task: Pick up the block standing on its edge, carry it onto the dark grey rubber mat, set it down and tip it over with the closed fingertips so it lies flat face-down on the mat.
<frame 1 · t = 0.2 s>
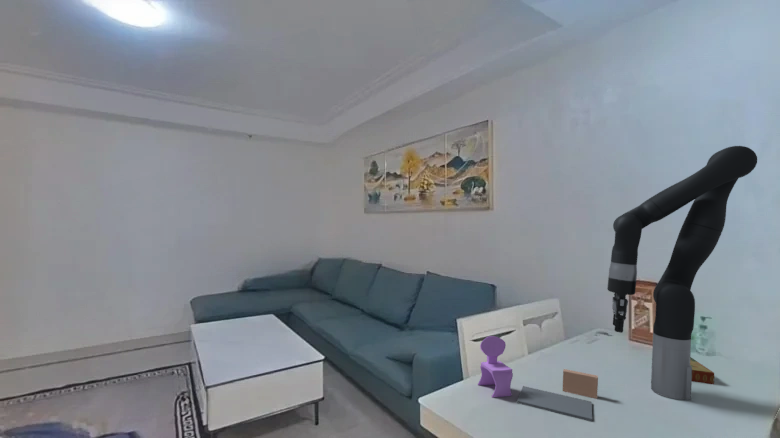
hand: (617, 328, 119), 17 cm above the table, tool pointing down, fingers open, 8 cm apart
block: (579, 393, 111), on the table
mat: (554, 403, 104), on the table
toy chair: (494, 391, 110), on the table
carton: (687, 375, 131), on the table
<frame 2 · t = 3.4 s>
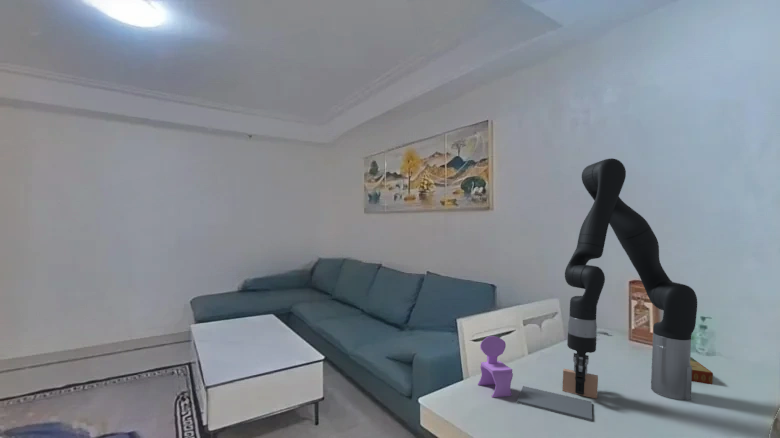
hand: (579, 391, 111), 0 cm above the table, tool pointing down, fingers closed on block, 2 cm apart
block: (579, 393, 111), on the table, touching gripper
everything else where it was.
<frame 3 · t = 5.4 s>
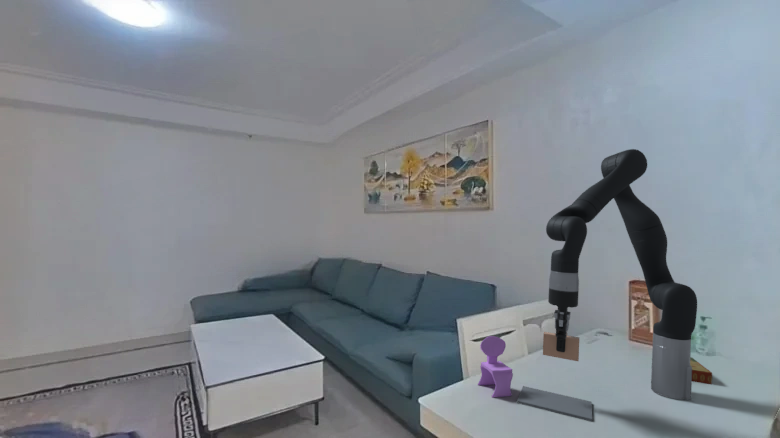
hand: (560, 350, 105), 14 cm above the table, tool pointing down, fingers closed on block
block: (560, 357, 105), point 12 cm above the table, touching gripper
everything else where it was.
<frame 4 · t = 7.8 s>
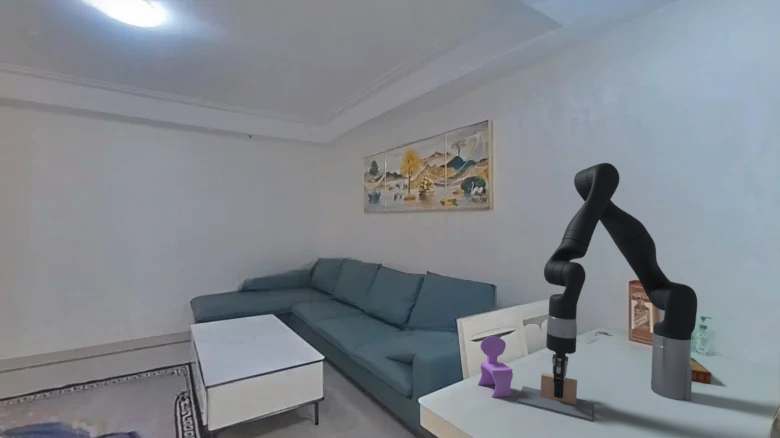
hand: (558, 395, 105), 2 cm above the table, tool pointing down, fingers closed on block, 2 cm apart
block: (558, 399, 105), point 1 cm above the table, touching gripper, mat
everything else where it was.
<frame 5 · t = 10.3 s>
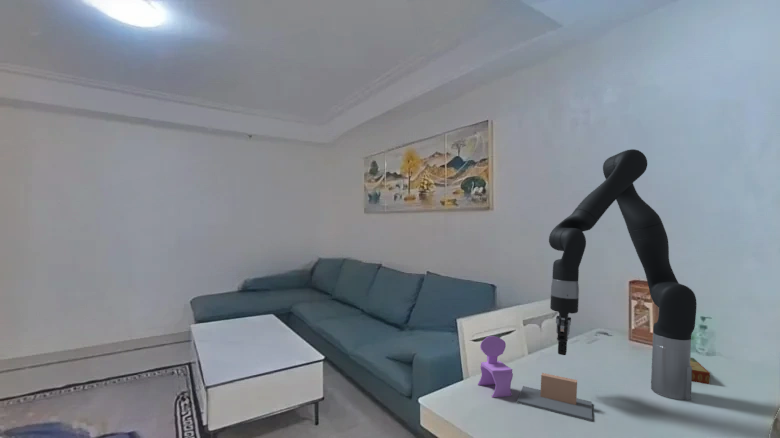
hand: (562, 353, 112), 11 cm above the table, tool pointing down, fingers closed
block: (558, 399, 105), point 1 cm above the table, touching mat
everything else where it was.
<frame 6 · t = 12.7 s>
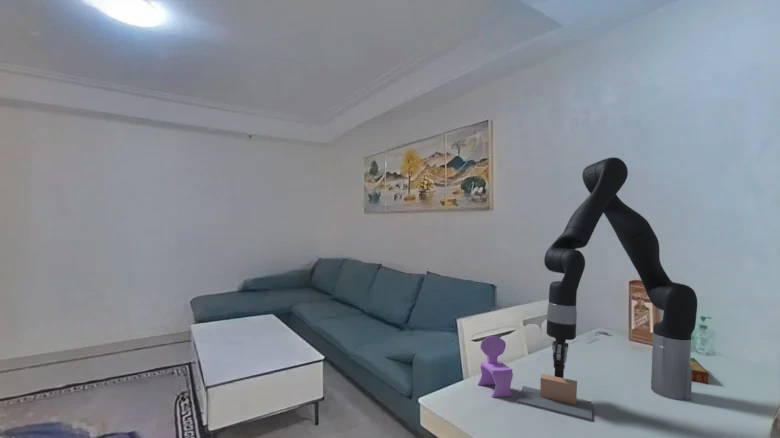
hand: (558, 381, 106), 5 cm above the table, tool pointing down, fingers closed
block: (558, 398, 105), point 1 cm above the table, tilted 16°, touching mat
everything else where it was.
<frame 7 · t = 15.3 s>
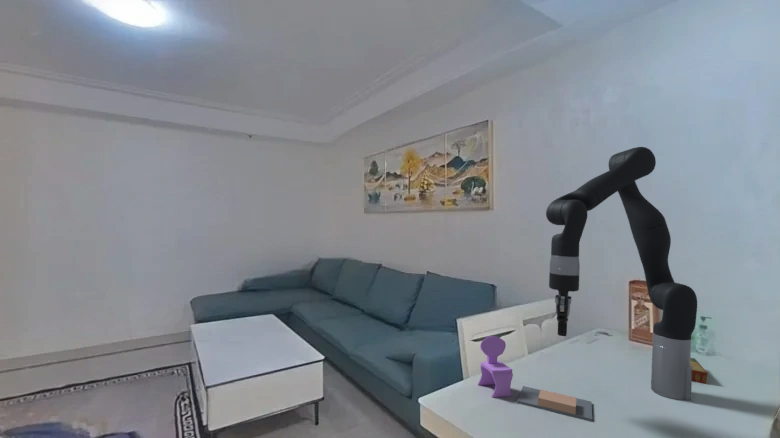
hand: (562, 335, 104), 19 cm above the table, tool pointing down, fingers closed
block: (558, 397, 104), point 2 cm above the table, tilted 90°, touching mat
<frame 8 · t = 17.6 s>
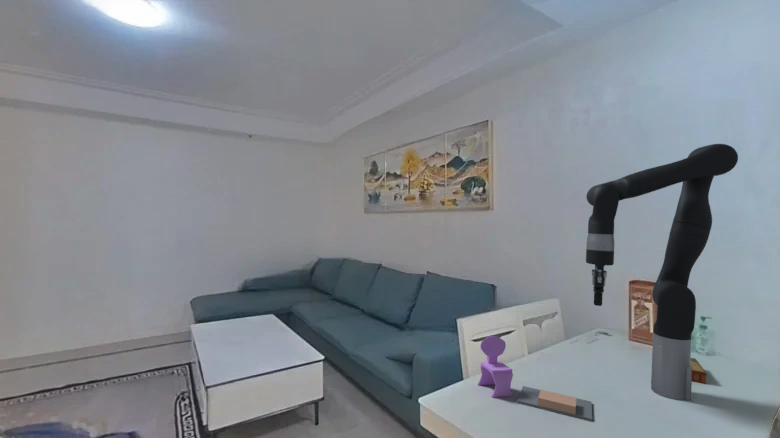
hand: (597, 305, 116), 25 cm above the table, tool pointing down, fingers closed
at the end: block tilted 90°; block inside the target area (1.1 cm from its centre), point 1.6 cm above the table; the gripper is holding nothing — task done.
